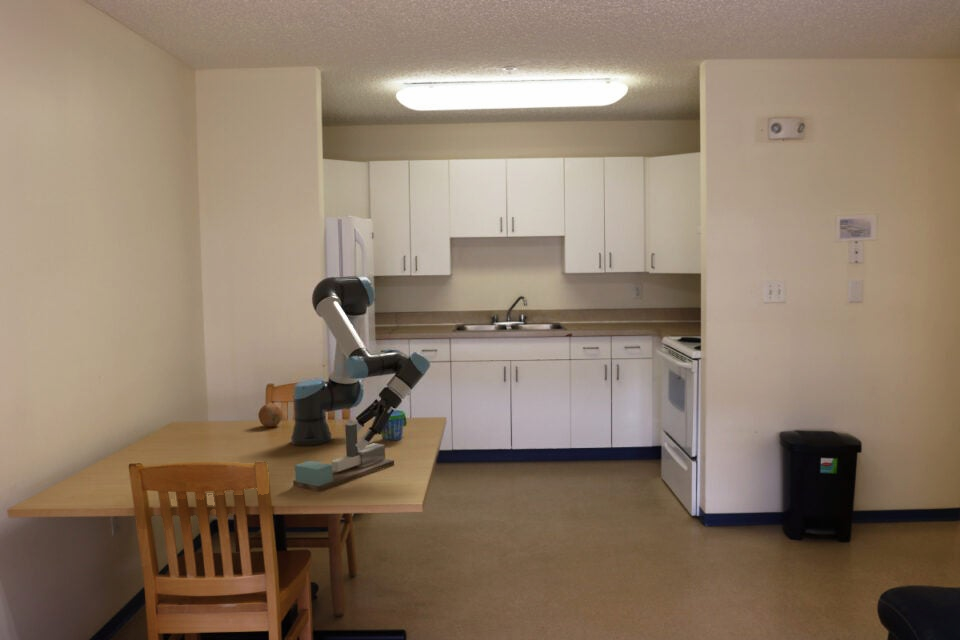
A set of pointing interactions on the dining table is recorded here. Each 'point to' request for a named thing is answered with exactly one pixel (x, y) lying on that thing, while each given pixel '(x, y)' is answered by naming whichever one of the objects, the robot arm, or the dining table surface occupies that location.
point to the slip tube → (348, 448)
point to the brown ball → (270, 415)
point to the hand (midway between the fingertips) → (352, 443)
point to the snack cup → (394, 426)
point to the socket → (313, 473)
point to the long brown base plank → (356, 468)
